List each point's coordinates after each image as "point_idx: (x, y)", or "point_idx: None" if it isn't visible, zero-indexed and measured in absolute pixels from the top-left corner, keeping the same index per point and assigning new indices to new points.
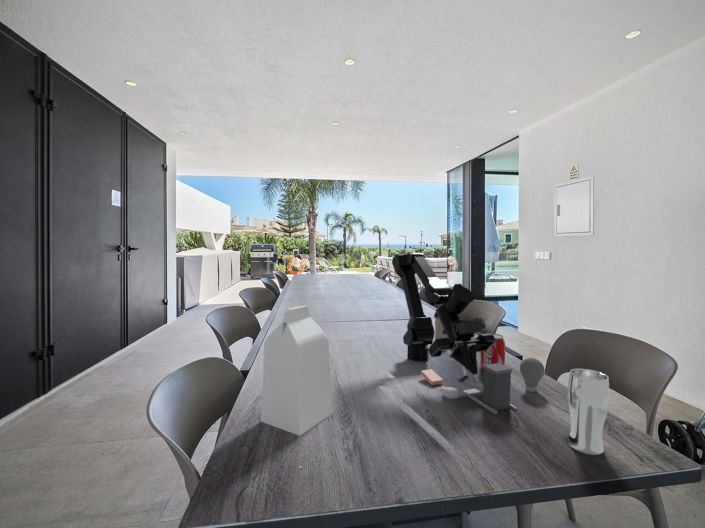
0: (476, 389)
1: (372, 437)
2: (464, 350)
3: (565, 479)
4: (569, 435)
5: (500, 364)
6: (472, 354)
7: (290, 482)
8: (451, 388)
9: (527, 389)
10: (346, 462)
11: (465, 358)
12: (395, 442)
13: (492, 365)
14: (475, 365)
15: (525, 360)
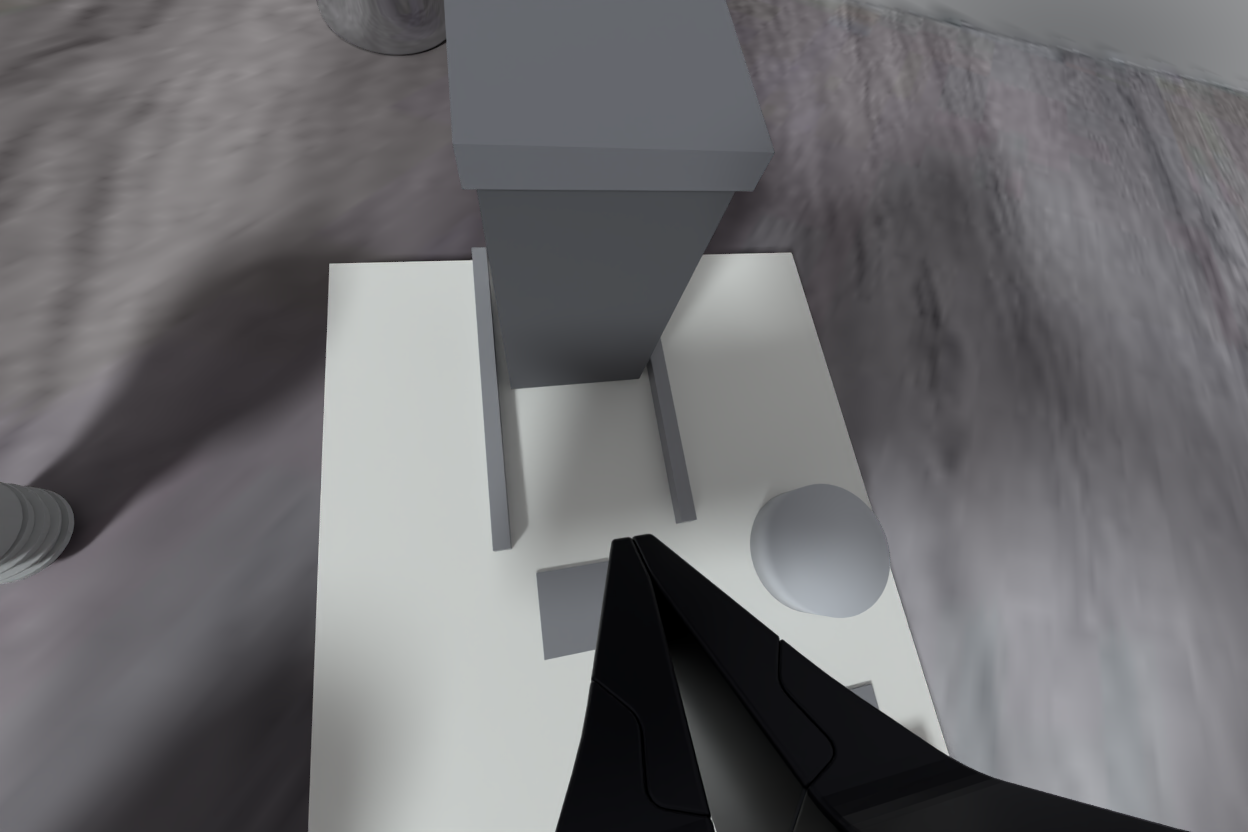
0: (543, 636)
1: (1167, 294)
2: (1033, 823)
3: None
4: (426, 6)
5: (483, 91)
6: (689, 797)
7: None
8: (814, 587)
9: (26, 533)
10: (1208, 200)
11: (841, 707)
12: (1088, 244)
13: (639, 105)
14: (633, 600)
15: None
